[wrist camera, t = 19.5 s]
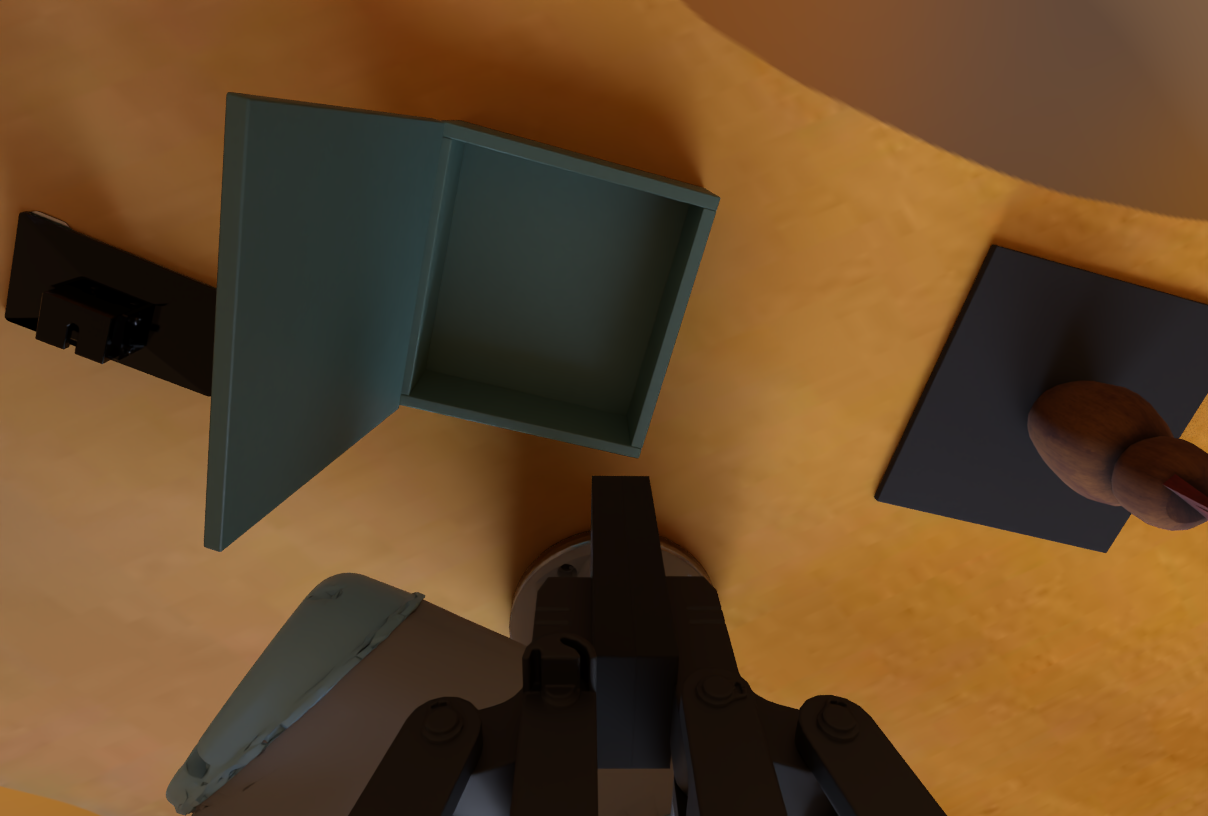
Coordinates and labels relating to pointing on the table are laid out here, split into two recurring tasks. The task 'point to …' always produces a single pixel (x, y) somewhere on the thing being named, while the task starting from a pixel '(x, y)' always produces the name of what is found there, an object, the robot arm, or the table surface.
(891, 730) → the table surface
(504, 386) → the chest
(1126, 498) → the wooden figurine
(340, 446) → the lid
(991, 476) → the mat
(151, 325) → the build plate
